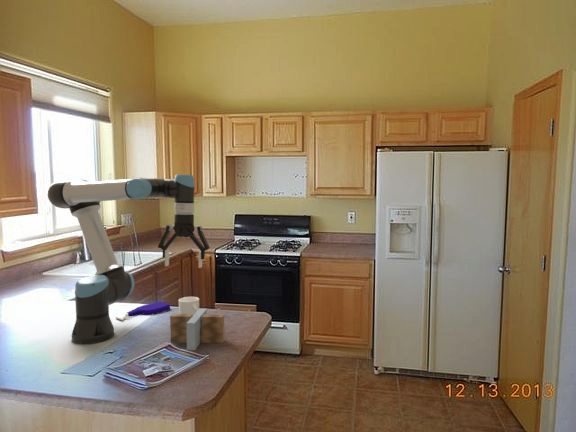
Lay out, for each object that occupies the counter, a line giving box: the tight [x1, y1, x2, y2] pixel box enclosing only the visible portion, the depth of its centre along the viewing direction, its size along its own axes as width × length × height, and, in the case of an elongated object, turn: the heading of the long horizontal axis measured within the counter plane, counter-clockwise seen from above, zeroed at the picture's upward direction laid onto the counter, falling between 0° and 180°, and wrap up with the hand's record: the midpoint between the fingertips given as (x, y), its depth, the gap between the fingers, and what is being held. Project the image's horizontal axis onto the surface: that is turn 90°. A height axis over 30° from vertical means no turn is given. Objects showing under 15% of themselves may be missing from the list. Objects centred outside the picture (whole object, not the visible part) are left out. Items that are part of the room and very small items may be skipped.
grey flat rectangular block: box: [186, 308, 208, 351], centre depth 159 cm, size 3×18×10 cm, turn 177°
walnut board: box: [169, 313, 225, 344], centre depth 159 cm, size 20×3×10 cm, turn 87°
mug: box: [178, 296, 200, 315], centre depth 179 cm, size 9×12×11 cm
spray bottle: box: [115, 301, 171, 322], centre depth 194 cm, size 3×11×24 cm
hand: (183, 266), depth 167 cm, fingers open, 13 cm apart
